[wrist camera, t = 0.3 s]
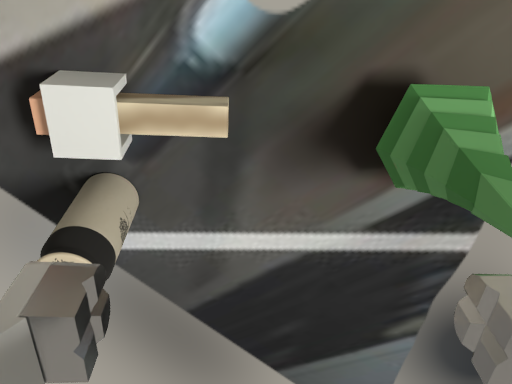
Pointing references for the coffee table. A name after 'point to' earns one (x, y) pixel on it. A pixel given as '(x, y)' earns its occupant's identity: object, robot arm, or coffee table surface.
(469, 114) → the decorative tree
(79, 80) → the tunnel
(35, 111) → the block
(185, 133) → the rod
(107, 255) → the travel mug
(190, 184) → the coffee table surface
